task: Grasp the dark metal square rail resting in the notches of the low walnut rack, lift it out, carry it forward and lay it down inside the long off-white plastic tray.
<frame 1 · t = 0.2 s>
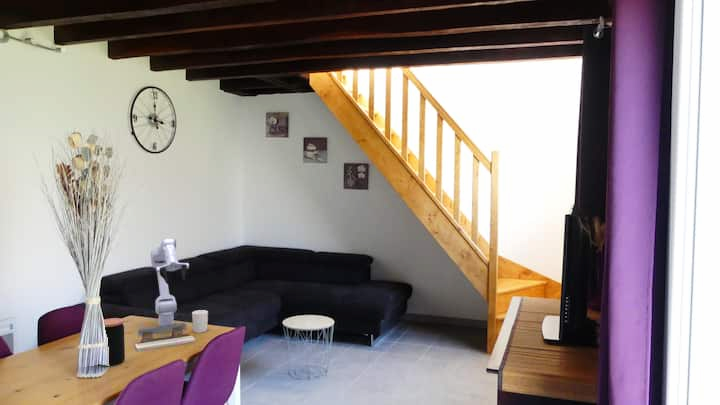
hand: (175, 281, 251), 31 cm above the table, tool tilted 45°, fingers open, 7 cm apart
coffee jar: (111, 362, 229), on the table
rack: (162, 340, 260), on the table
rail: (162, 332, 260), point 4 cm above the table, touching rack
white cup: (200, 331, 276), on the table
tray: (165, 344, 253), on the table
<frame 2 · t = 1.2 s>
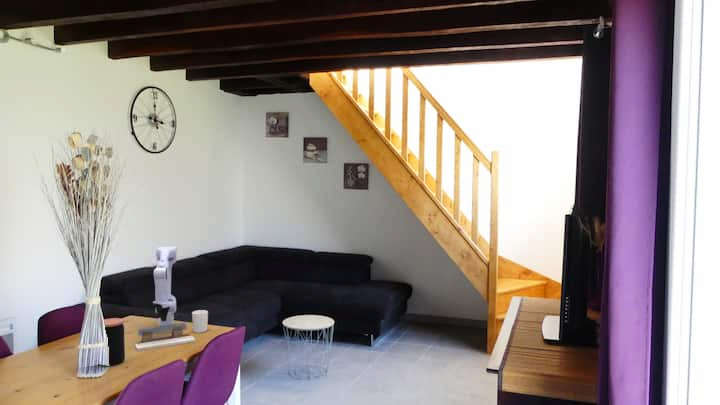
hand: (162, 319, 259), 10 cm above the table, tool pointing down, fingers open, 7 cm apart
nothing on the table moved.
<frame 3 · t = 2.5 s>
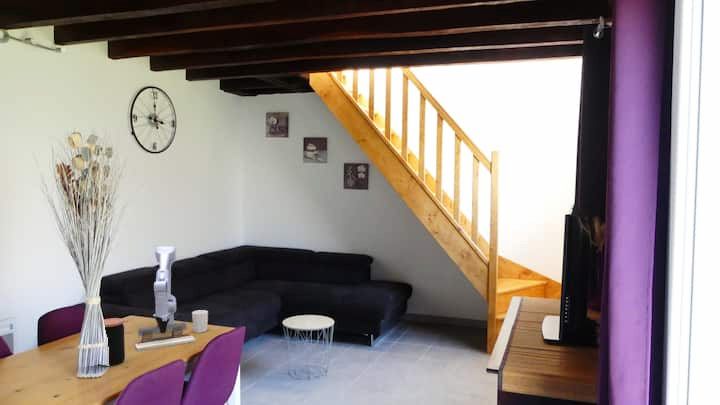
hand: (162, 332, 260), 4 cm above the table, tool pointing down, fingers closed on rail, 3 cm apart
rail: (162, 332, 260), point 4 cm above the table, touching gripper, rack
everything else where it was.
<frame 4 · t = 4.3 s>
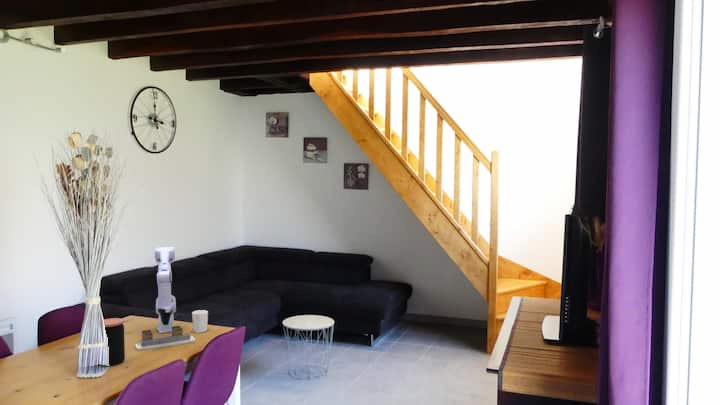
hand: (165, 324, 253), 10 cm above the table, tool pointing down, fingers open, 3 cm apart
rail: (165, 340, 253), point 2 cm above the table, tilted 90°, touching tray
everything else where it was.
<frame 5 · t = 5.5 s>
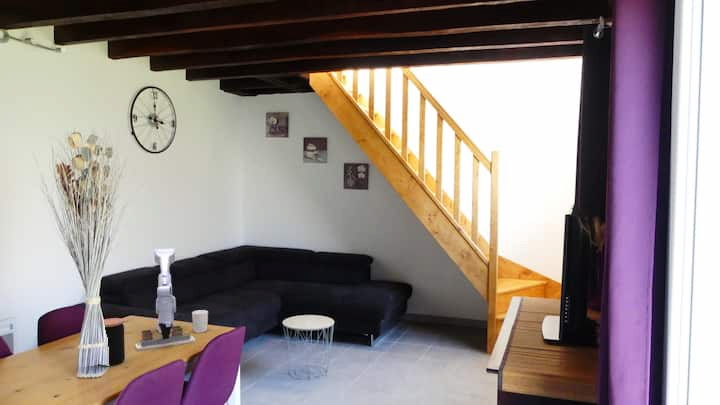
hand: (165, 338, 252), 3 cm above the table, tool pointing down, fingers closed, pressing on rail
rail: (165, 340, 253), point 2 cm above the table, tilted 90°, touching gripper, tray
everything else where it was.
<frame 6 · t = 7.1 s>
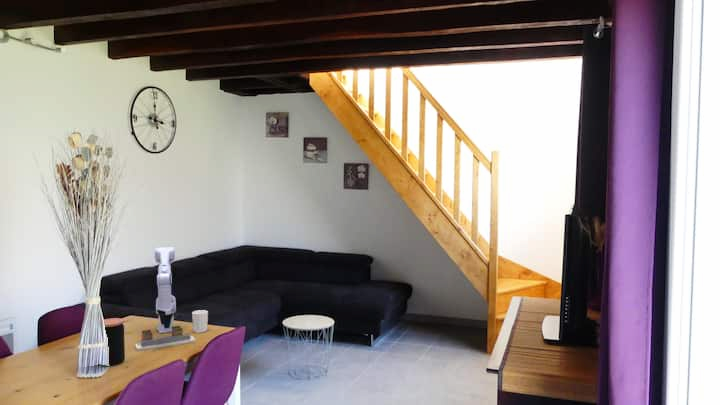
hand: (165, 326, 253), 9 cm above the table, tool pointing down, fingers open, 7 cm apart
rail: (165, 340, 253), point 2 cm above the table, tilted 90°, touching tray
everything else where it was.
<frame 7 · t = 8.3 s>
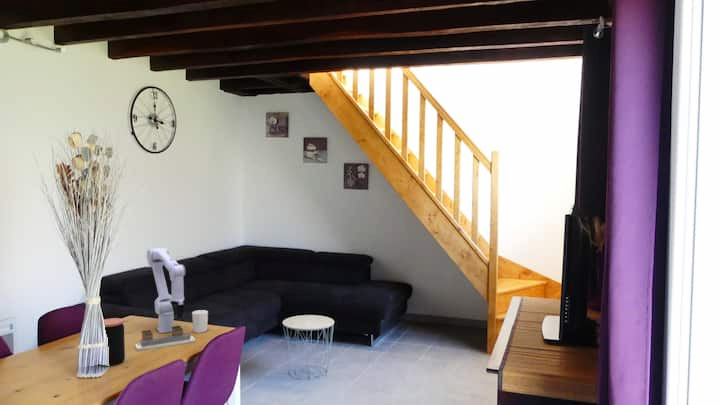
hand: (178, 316, 265), 10 cm above the table, tool pointing down, fingers open, 7 cm apart
nothing on the table moved.
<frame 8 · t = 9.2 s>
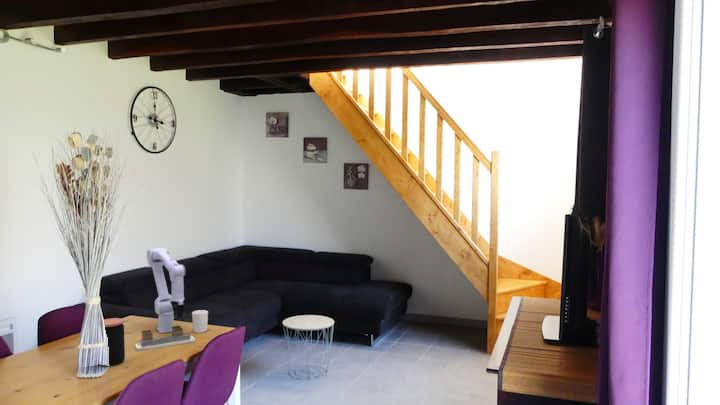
hand: (178, 316, 265), 10 cm above the table, tool pointing down, fingers open, 7 cm apart
nothing on the table moved.
at the end: rail 0.5 cm off-centre on the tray, point 1.9 cm above the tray's base; the gripper is holding nothing; rail touching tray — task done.
